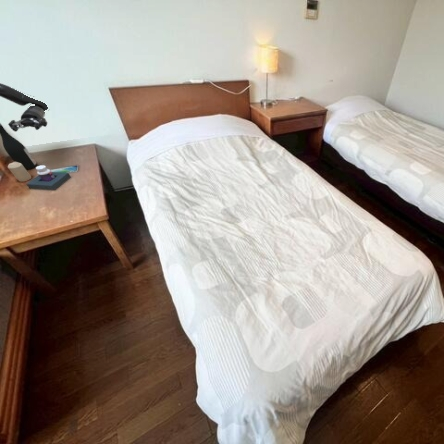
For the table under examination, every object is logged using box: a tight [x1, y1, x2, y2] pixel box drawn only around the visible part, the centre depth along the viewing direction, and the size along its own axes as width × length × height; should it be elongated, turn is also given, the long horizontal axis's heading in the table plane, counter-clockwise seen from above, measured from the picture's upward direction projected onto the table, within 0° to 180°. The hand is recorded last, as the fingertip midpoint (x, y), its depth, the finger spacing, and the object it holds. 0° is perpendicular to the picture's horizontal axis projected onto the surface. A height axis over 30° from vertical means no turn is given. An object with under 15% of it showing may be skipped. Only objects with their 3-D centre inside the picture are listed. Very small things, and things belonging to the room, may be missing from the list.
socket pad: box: [25, 172, 72, 191], centre depth 135 cm, size 13×13×3 cm
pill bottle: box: [35, 164, 55, 182], centre depth 133 cm, size 5×5×10 cm
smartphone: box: [49, 165, 79, 173], centre depth 145 cm, size 7×1×15 cm
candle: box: [7, 161, 32, 183], centre depth 133 cm, size 6×6×10 cm
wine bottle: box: [0, 122, 38, 171], centre depth 135 cm, size 8×8×30 cm
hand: (25, 128), depth 126 cm, fingers open, 8 cm apart
